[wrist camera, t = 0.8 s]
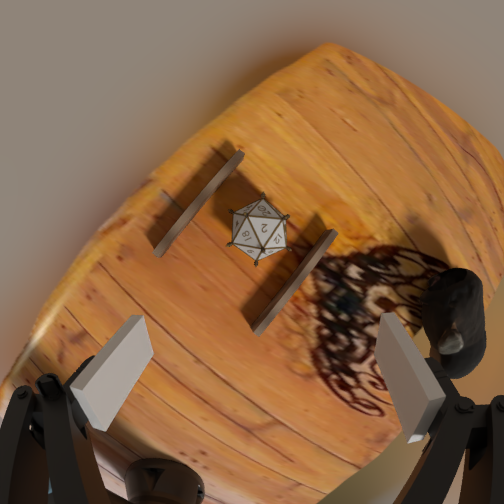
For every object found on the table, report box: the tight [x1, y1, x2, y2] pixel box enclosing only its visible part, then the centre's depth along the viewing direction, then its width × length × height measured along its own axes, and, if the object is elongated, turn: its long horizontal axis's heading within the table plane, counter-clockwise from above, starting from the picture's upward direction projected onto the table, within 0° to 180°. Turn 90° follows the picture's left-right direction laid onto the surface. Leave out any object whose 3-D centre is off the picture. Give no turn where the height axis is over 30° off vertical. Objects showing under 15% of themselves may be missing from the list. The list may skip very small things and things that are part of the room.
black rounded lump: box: [419, 268, 486, 379], centre depth 40 cm, size 20×21×13 cm
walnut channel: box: [152, 149, 338, 336], centre depth 39 cm, size 18×18×3 cm
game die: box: [226, 191, 292, 267], centre depth 36 cm, size 9×8×10 cm
